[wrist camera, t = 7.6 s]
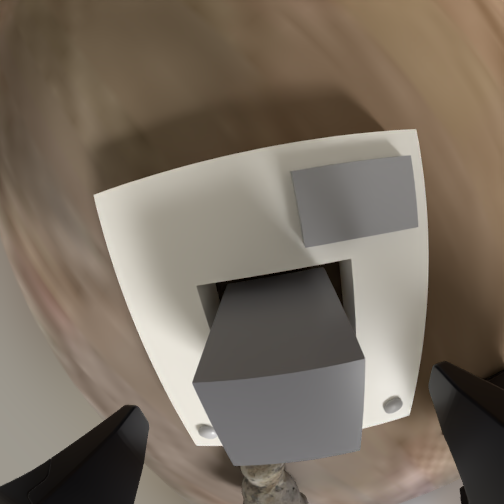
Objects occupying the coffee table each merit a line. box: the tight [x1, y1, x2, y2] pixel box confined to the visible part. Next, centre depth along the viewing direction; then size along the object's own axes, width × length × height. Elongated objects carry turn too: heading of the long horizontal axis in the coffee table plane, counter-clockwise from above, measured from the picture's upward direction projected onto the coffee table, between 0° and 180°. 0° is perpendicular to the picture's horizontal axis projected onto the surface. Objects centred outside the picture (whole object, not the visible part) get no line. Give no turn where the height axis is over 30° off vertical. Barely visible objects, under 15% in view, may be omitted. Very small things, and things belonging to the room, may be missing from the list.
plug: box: [192, 267, 365, 466], centre depth 10 cm, size 4×4×7 cm
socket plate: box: [94, 129, 429, 446], centre depth 12 cm, size 14×12×3 cm
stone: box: [241, 463, 308, 504], centre depth 16 cm, size 10×5×8 cm
